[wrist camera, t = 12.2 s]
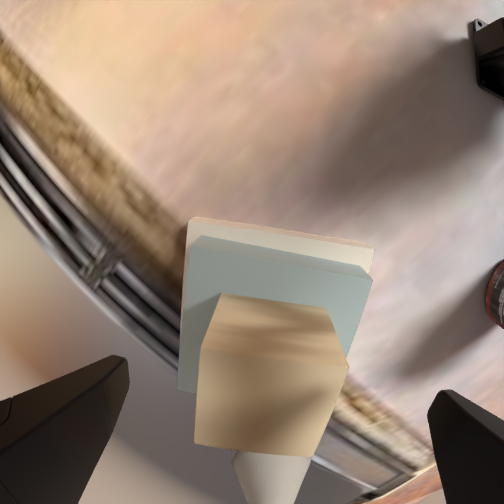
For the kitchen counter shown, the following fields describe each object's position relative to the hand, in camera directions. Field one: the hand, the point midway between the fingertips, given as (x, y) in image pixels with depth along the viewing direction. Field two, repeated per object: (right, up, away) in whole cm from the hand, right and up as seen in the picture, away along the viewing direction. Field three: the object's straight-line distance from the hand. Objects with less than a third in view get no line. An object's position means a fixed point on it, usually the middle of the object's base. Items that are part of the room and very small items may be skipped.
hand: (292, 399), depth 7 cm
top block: (0, -1, +12) cm, 12 cm away
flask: (+1, -16, +18) cm, 24 cm away
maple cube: (0, -1, +9) cm, 9 cm away
